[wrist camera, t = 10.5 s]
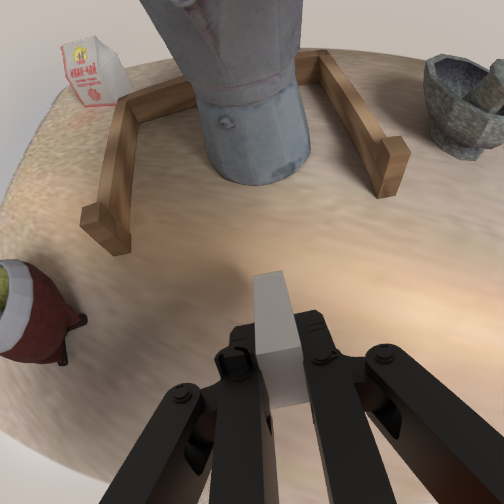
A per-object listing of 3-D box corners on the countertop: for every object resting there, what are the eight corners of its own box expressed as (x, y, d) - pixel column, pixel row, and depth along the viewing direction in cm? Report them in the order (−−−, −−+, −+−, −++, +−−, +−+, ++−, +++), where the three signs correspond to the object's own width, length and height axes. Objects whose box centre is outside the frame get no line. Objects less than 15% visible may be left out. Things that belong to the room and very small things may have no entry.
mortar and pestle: (411, 97, 27) (429, 0, 17) (486, 120, 25) (519, 34, 14) (414, 172, 23) (454, 51, 13) (504, 200, 21) (566, 104, 10)
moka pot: (193, 222, 24) (60, -31, 6) (214, 98, 31) (163, -72, 13) (319, 216, 23) (316, -94, 5) (305, 91, 29) (288, -92, 11)
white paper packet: (99, 90, 37) (70, 38, 28) (133, 87, 35) (104, 28, 26) (84, 107, 36) (52, 54, 27) (117, 105, 34) (84, 44, 25)
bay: (395, 195, 23) (411, 152, 18) (113, 256, 24) (79, 226, 19) (327, 75, 30) (327, 37, 26) (128, 121, 32) (110, 88, 27)
